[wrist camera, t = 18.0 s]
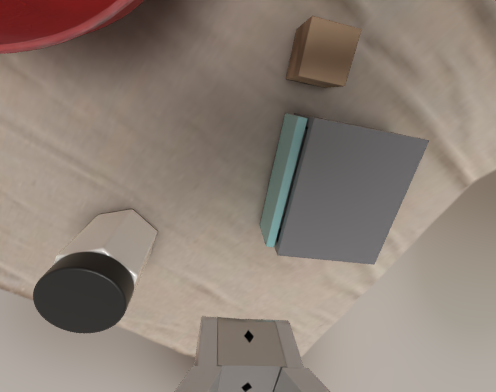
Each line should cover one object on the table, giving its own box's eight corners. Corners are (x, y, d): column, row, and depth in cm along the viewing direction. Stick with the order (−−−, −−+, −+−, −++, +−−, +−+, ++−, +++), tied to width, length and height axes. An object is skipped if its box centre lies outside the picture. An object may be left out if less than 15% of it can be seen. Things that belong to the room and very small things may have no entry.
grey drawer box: (294, 113, 30) (314, 117, 24) (387, 131, 33) (429, 140, 26) (267, 226, 36) (277, 255, 30) (348, 236, 38) (374, 264, 32)
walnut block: (296, 29, 27) (312, 15, 22) (338, 40, 28) (361, 29, 23) (285, 78, 29) (298, 75, 24) (325, 87, 30) (344, 86, 25)
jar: (77, 232, 33) (6, 299, 22) (120, 196, 32) (68, 248, 21) (129, 271, 36) (89, 348, 25) (170, 240, 35) (147, 306, 24)
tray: (285, 113, 30) (298, 116, 25) (377, 131, 32) (406, 137, 27) (259, 225, 36) (266, 246, 31) (339, 234, 38) (358, 255, 33)
